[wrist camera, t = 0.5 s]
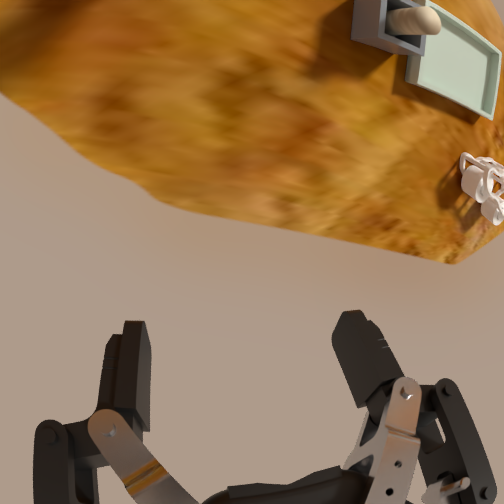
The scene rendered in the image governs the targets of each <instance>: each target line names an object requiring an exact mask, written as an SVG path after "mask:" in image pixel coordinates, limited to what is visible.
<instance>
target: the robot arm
mask: <svg viewBox="0 0 504 504" xmlns="http://www.w3.org/2000/svg"><path fill="white" fill-rule="evenodd" d="M332 346H333V348H334V351H335V353H336V356H337V358H338V361H339V363H340V365H341V368H342V370H343V373H344V375H345V378H346V380H347V383H348V385H349V388H350V390H351V393H352V395H353V398H354V401H355V403H356V406H357V408H361V407H365V406H367V408H368V411H367V413H366V415H365V418H364V421H363V424H362V427H361V431H360V433H359V436H358V439H357V442H356V445H355V448H354V450H353V451H352V452H351V454H350V455H349V456H348V458H347V460H346V462H345V464H344V466H343V469H341V468H340V466H335V467H332V468H328V469H325V470H321V471H317V472H314V473H312V474H310V475H308V476H306V477H304V478H302V479H300V480H297V481H295V482H293V483H291V484H288V485H280V484H263V483H254V484H246V485H237V486H228V487H227V490H224V491H221V492H219V493H216V494H214V495H213V496H211V497H209V498H208V499H206V500H205V501H204V502H203V503H202V504H413V503H411V502H409V501H407V500H406V498H407V495H408V491H409V488H410V485H411V481H412V477H413V474H414V470H415V466H416V462H417V457H418V460H419V463H420V466H421V469H422V473H423V476H424V479H425V482H426V486H427V490H426V492H425V493H424V494H423V495H422V499H421V500H422V502H423V503H425V504H493V502H494V501H495V498H496V495H497V486H496V483H495V480H494V477H493V474H492V470H491V467H490V464H489V461H488V459H487V456H486V453H485V450H484V447H483V445H482V442H481V439H480V437H479V434H478V432H477V430H476V427H475V424H474V422H473V420H472V417H471V415H470V413H469V410H468V408H467V406H466V404H465V402H464V399H463V397H462V395H461V393H460V391H459V389H458V387H457V385H456V384H455V383H454V382H453V381H452V380H450V379H447V378H443V379H441V380H439V381H438V382H437V383H436V384H435V385H419V384H418V383H417V382H416V381H415V380H413V379H412V378H409V377H405V376H404V374H403V372H402V370H401V368H400V366H399V364H398V362H397V361H396V359H395V357H394V355H393V353H392V351H391V349H390V347H388V344H387V342H386V340H384V336H383V334H382V333H381V331H380V329H379V328H378V327H377V326H376V325H375V324H374V323H373V322H372V321H371V320H369V321H367V319H366V317H365V315H364V313H363V312H362V311H361V310H353V311H344V312H343V313H342V314H341V316H340V318H339V320H338V323H337V325H336V327H335V330H334V331H333V333H332ZM102 367H103V369H102V373H101V380H100V387H99V396H98V403H97V407H96V410H95V412H94V413H93V414H92V415H91V416H90V417H89V418H88V419H86V420H84V421H80V422H75V423H70V424H65V425H62V424H61V423H59V422H58V421H55V420H45V421H43V422H41V423H40V424H39V425H38V426H37V428H36V431H35V438H34V455H33V496H34V504H99V494H98V482H97V468H98V467H104V466H109V465H110V466H111V467H112V469H113V470H114V471H115V473H116V474H117V475H118V477H119V478H120V479H121V481H122V482H123V483H124V485H125V488H126V490H127V491H128V493H129V494H130V496H131V497H132V498H133V499H134V500H135V502H136V503H137V504H199V503H198V502H197V501H196V500H195V499H194V498H193V497H192V496H191V495H190V494H188V492H186V491H185V489H184V488H182V486H181V485H180V484H179V483H178V482H177V481H175V479H174V478H173V477H172V476H171V475H170V474H169V473H168V472H167V471H166V470H165V469H164V467H163V466H162V465H161V464H160V463H159V462H158V461H157V460H156V459H155V457H154V456H153V455H152V454H151V453H150V452H149V451H148V449H147V448H146V447H145V446H144V444H143V431H146V432H150V380H151V345H150V341H149V337H148V333H147V329H146V325H145V322H144V321H125V323H124V328H123V334H122V335H121V334H113V335H112V337H111V338H110V340H109V341H108V343H107V344H106V348H105V355H104V360H103V366H102ZM436 418H438V419H439V422H440V424H441V427H442V429H443V432H444V434H445V438H446V441H445V443H444V441H443V439H442V436H441V434H440V431H439V429H438V426H437V424H436V421H435V419H436Z"/></svg>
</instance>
